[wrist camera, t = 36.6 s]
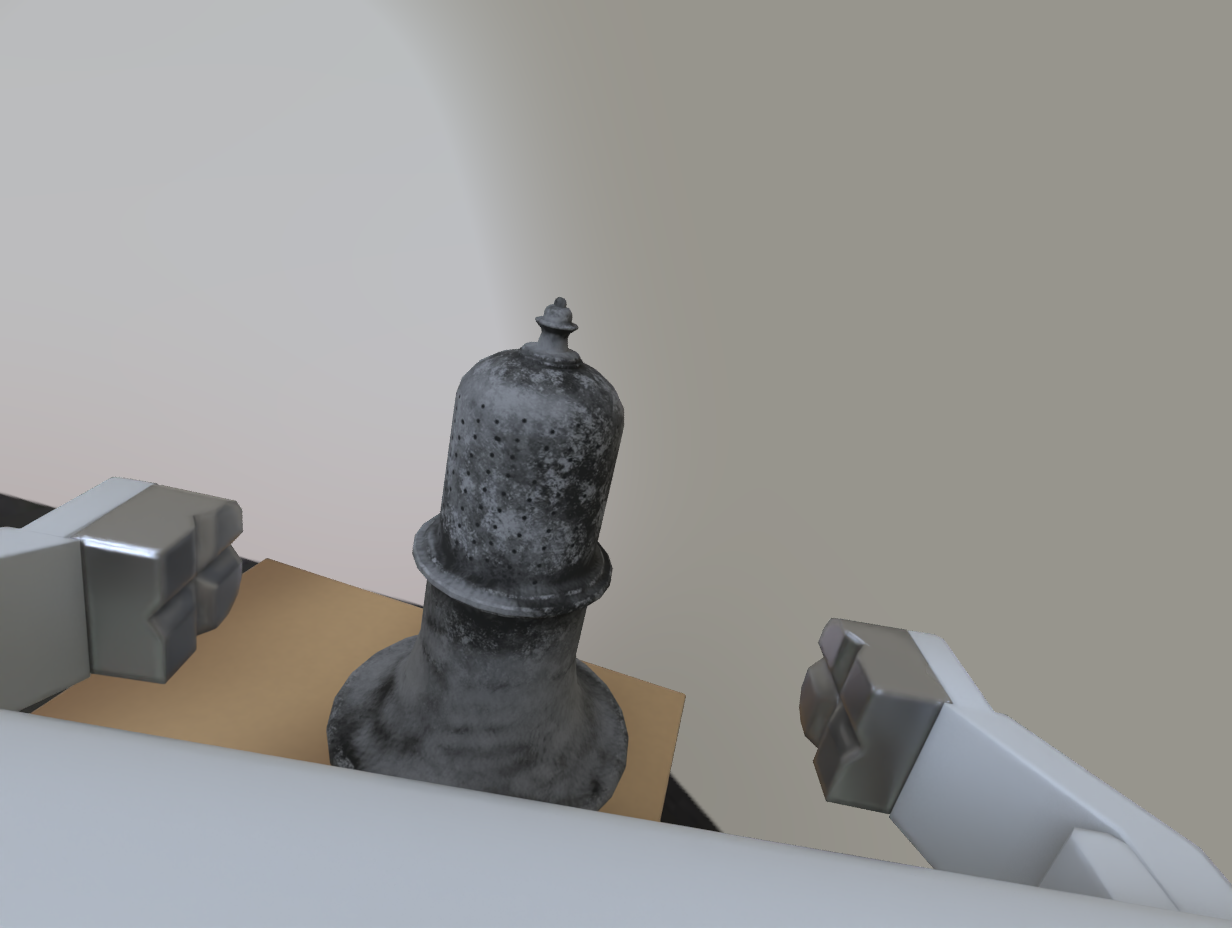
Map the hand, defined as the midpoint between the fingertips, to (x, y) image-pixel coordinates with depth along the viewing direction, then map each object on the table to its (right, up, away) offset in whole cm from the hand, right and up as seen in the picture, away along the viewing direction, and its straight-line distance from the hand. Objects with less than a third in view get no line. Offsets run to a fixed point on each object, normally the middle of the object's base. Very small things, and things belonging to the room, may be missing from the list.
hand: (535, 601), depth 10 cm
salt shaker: (-2, -7, +6) cm, 9 cm away
